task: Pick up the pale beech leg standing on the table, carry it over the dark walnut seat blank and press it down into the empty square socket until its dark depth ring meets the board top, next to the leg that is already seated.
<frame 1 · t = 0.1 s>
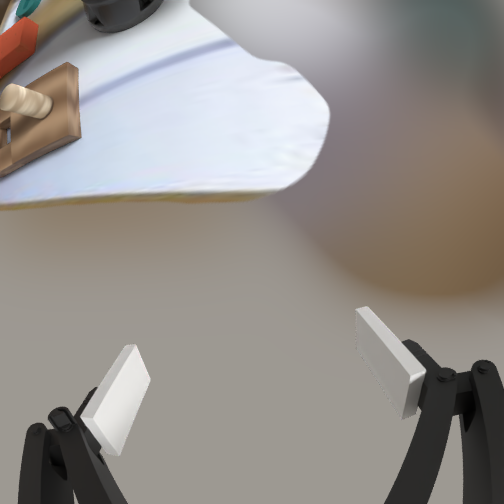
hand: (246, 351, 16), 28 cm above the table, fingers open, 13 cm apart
brick: (10, 58, 32), on the table
walnut board: (34, 124, 36), on the table
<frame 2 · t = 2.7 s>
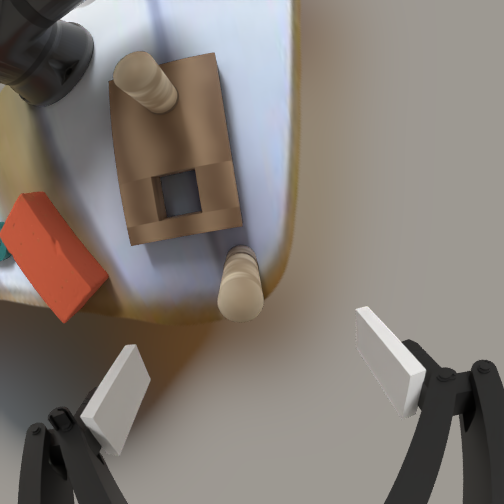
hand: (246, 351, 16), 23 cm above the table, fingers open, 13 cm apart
brick: (60, 250, 37), on the table
walnut board: (175, 148, 34), on the table
beech leg: (241, 259, 38), on the table
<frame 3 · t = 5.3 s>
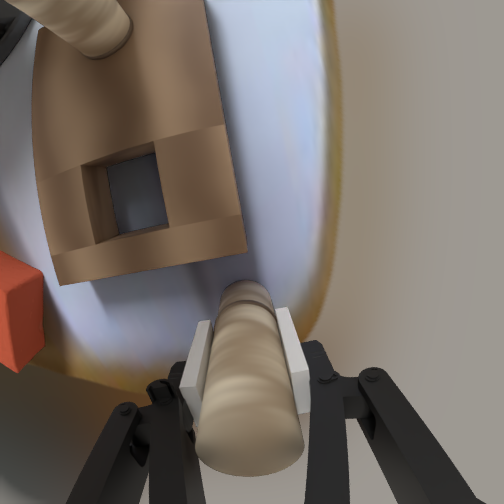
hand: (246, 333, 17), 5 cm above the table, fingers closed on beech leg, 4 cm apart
walnut board: (131, 117, 18), on the table
beech leg: (245, 304, 22), on the table, touching gripper
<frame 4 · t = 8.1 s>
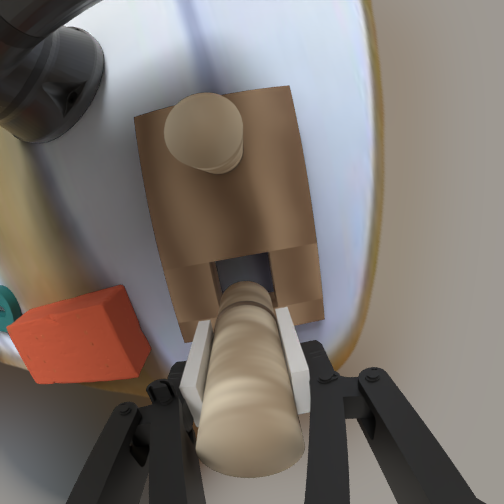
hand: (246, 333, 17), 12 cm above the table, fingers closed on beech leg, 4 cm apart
brick: (83, 328, 31), on the table
walnut board: (233, 214, 28), on the table
beech leg: (245, 305, 22), point 8 cm above the table, touching gripper
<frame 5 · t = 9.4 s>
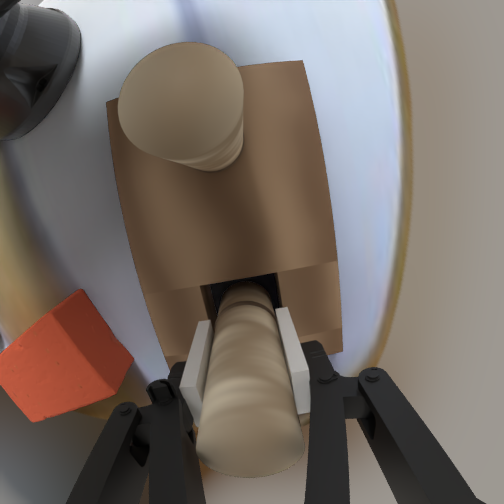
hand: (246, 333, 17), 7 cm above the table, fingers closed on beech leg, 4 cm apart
brick: (62, 351, 26), on the table
walnut board: (231, 223, 22), on the table
beech leg: (245, 305, 22), point 2 cm above the table, touching gripper
when the fingers open (5 cm above the table, at t = 10.8 s): beech leg stays where it is, resting in walnut board.
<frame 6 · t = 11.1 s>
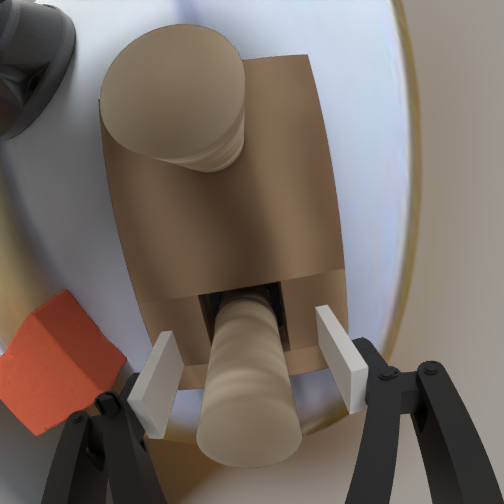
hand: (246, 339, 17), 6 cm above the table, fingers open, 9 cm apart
brick: (58, 359, 24), on the table
walnut board: (231, 227, 21), on the table
beech leg: (245, 302, 23), resting in walnut board
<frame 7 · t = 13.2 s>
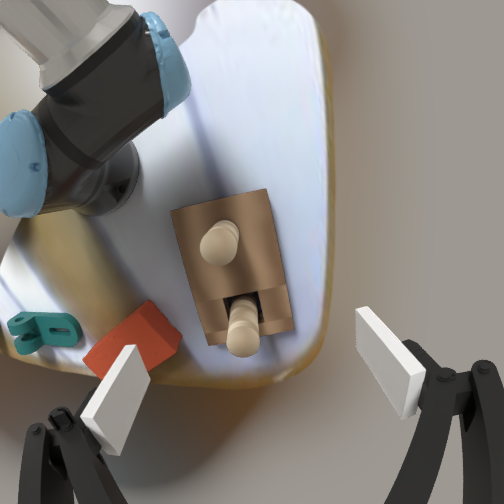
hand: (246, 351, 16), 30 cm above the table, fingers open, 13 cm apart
brick: (135, 340, 49), on the table
walnut board: (235, 266, 45), on the table
beech leg: (244, 301, 47), resting in walnut board
bracket: (51, 326, 48), on the table
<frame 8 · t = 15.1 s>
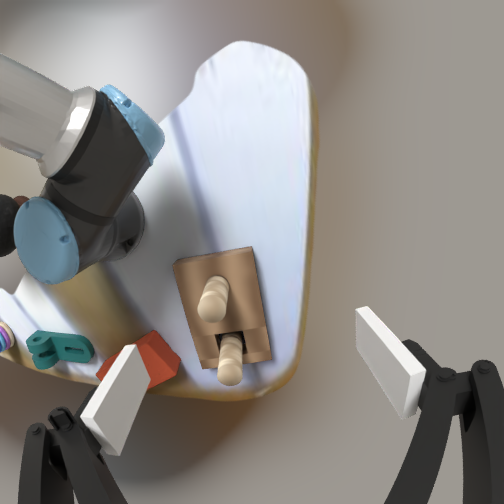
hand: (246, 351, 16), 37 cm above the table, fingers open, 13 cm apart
brick: (140, 360, 57), on the table
walnut board: (225, 307, 54), on the table
beech leg: (232, 334, 56), resting in walnut board
bracket: (66, 344, 56), on the table
snow globe: (22, 219, 49), on the table
stacking toy: (7, 332, 55), on the table
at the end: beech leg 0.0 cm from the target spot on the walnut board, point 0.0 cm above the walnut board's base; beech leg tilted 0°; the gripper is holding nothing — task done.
